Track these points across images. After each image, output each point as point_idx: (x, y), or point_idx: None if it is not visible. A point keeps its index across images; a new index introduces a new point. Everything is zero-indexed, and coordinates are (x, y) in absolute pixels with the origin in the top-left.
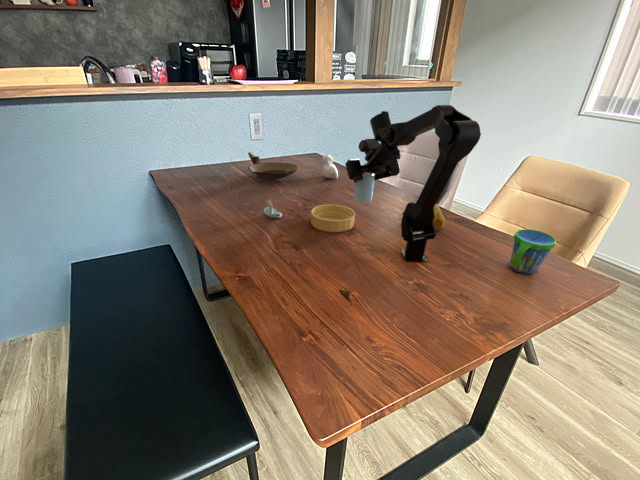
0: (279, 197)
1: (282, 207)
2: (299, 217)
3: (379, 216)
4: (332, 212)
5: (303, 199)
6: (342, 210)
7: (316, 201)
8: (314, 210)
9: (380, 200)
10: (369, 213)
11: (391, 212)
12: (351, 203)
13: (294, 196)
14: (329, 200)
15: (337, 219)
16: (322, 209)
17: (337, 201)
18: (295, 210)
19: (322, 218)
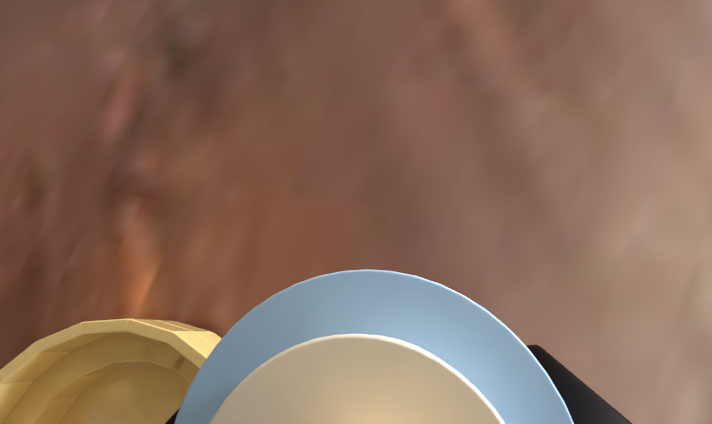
0: (66, 11)
1: (16, 140)
2: (26, 299)
3: None
4: (169, 367)
5: (166, 46)
6: None
7: (220, 81)
8: (10, 384)
9: (642, 110)
10: None
11: (665, 349)
12: (415, 136)
13: (141, 4)
14: (298, 74)
15: None
16: (101, 335)
17: (339, 94)
18: (55, 192)
19: (118, 375)
